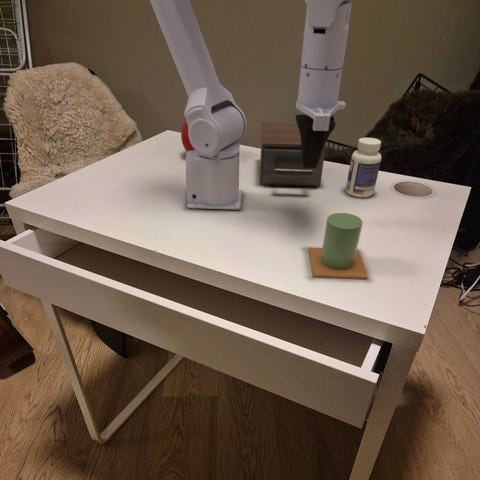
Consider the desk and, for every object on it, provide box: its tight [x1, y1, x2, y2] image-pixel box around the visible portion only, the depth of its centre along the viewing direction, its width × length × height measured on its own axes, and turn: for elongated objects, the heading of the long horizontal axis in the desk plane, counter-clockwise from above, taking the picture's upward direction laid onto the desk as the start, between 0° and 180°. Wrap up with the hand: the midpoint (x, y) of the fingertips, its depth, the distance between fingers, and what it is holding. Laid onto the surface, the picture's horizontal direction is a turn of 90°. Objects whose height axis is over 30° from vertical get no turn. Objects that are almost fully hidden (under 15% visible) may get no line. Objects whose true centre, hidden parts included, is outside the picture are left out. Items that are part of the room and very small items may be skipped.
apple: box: [180, 119, 195, 153], centre depth 93 cm, size 9×9×10 cm
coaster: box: [308, 246, 368, 280], centre depth 61 cm, size 8×8×1 cm
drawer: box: [263, 147, 323, 185], centre depth 83 cm, size 17×11×6 cm, turn 177°
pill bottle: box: [345, 137, 382, 198], centre depth 78 cm, size 5×5×10 cm
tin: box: [321, 212, 364, 270], centre depth 59 cm, size 5×5×6 cm
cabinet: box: [259, 122, 327, 188], centre depth 86 cm, size 14×12×8 cm
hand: (309, 166), depth 66 cm, fingers closed
